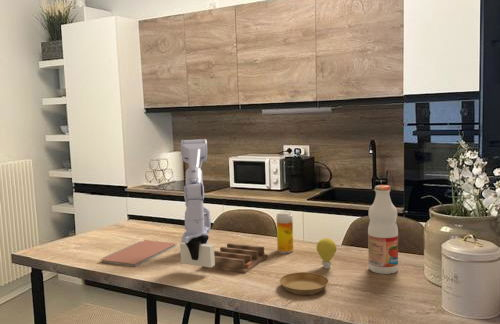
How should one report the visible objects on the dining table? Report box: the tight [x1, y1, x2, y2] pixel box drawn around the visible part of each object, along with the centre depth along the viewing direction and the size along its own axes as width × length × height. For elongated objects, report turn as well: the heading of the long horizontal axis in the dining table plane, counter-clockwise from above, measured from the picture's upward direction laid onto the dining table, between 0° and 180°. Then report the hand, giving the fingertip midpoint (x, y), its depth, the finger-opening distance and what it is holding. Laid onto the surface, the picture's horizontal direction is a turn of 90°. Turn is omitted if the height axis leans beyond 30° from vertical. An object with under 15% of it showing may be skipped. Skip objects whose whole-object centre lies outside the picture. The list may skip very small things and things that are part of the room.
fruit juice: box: [367, 184, 399, 275], centre depth 150 cm, size 9×9×28 cm
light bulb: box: [316, 237, 337, 269], centre depth 155 cm, size 7×7×10 cm
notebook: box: [100, 239, 177, 267], centre depth 179 cm, size 27×17×2 cm, turn 156°
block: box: [179, 242, 215, 268], centre depth 155 cm, size 12×2×7 cm, turn 64°
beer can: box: [276, 211, 294, 254], centre depth 175 cm, size 6×6×15 cm
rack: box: [201, 242, 268, 274], centre depth 165 cm, size 17×18×4 cm
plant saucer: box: [279, 271, 330, 296], centre depth 138 cm, size 15×15×3 cm
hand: (197, 258), depth 155 cm, fingers closed on block, 2 cm apart
